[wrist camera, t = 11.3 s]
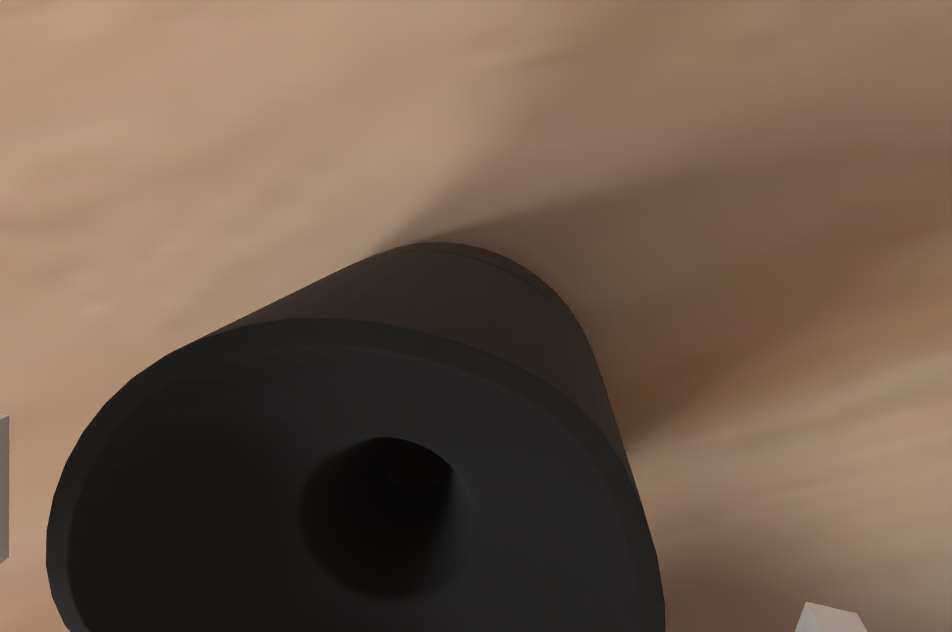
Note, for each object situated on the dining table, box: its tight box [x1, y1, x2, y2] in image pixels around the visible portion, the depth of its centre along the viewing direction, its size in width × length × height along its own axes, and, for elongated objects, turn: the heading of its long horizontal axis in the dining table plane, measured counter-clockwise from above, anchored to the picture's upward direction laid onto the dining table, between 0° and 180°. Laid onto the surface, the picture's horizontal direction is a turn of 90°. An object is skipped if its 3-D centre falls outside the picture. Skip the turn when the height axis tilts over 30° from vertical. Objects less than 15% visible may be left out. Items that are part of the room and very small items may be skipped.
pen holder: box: [46, 243, 665, 632], centre depth 15 cm, size 9×9×10 cm
